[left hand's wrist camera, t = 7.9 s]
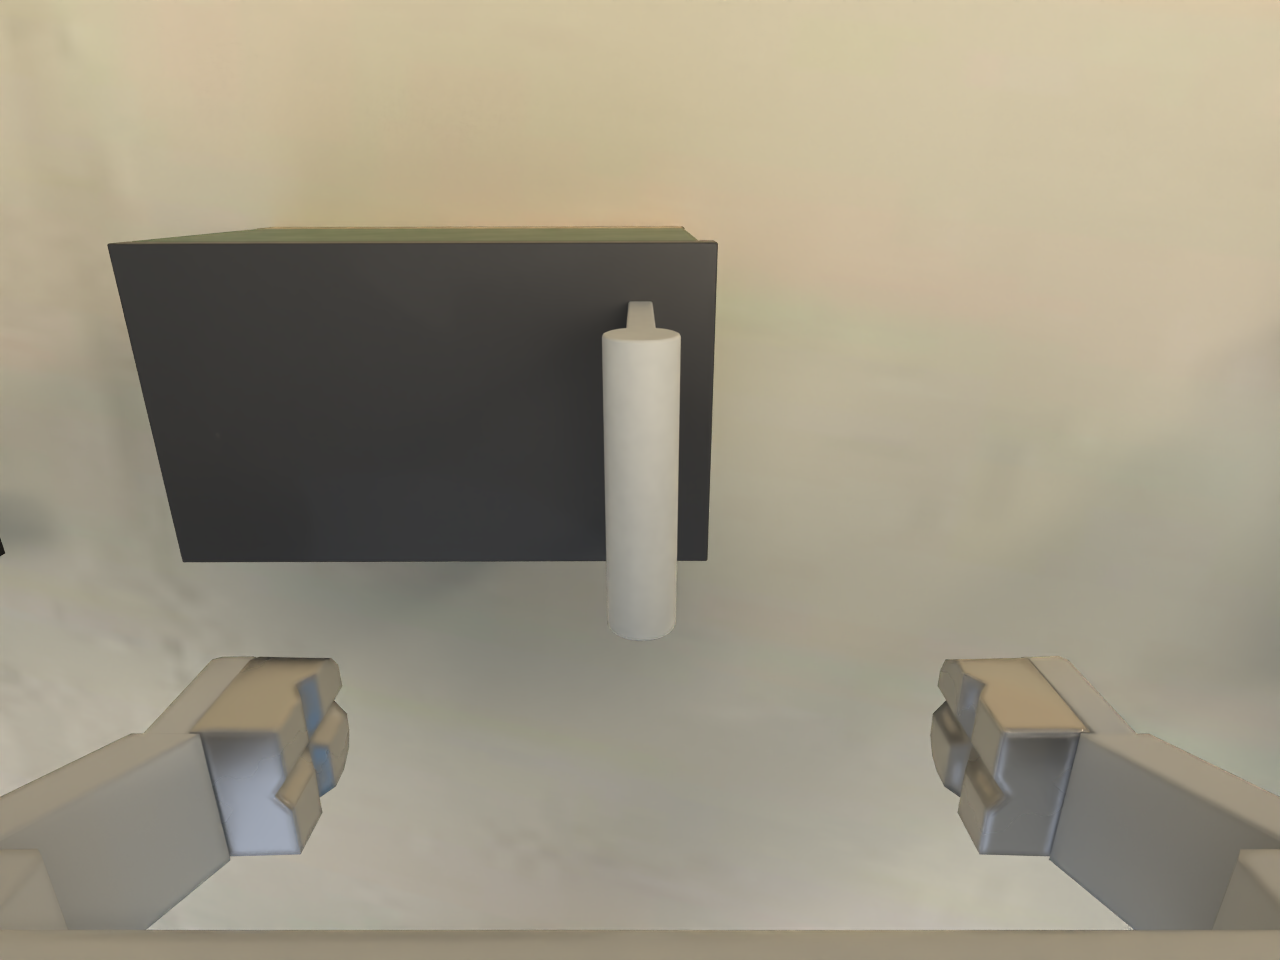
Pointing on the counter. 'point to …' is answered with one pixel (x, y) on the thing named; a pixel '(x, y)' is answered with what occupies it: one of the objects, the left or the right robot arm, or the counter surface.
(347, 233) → the chest
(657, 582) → the lid
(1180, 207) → the counter surface
